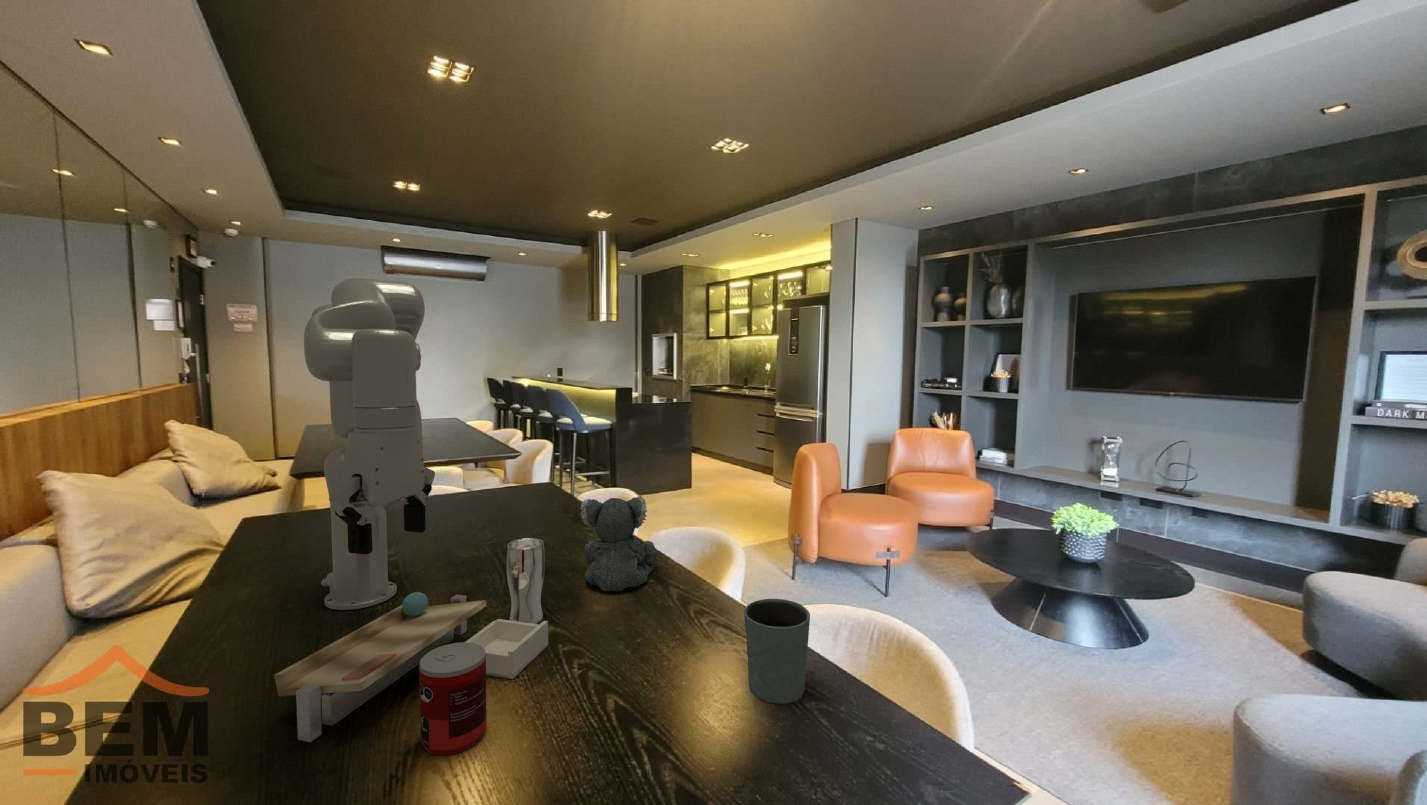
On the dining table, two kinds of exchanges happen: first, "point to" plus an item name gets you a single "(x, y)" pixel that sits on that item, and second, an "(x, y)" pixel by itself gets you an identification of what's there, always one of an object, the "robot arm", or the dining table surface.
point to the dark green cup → (776, 649)
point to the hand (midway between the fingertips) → (389, 541)
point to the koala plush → (617, 544)
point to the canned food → (452, 697)
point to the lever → (373, 649)
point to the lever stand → (346, 702)
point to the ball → (415, 604)
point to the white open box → (511, 645)
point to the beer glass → (525, 579)
